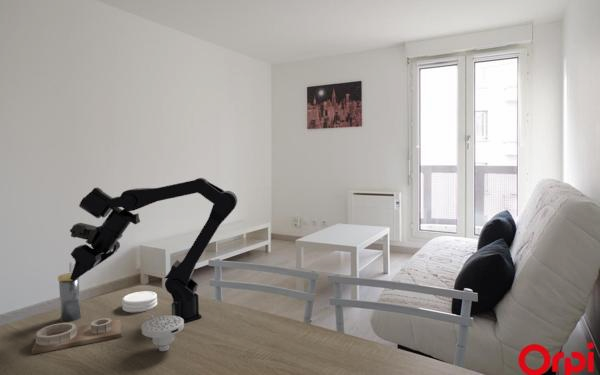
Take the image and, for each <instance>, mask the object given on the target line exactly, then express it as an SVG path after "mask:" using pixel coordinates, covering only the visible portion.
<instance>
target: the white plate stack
mask: <svg viewBox="0 0 600 375" xmlns="http://www.w3.org/2000/svg"><path fill="white" fill-rule="evenodd" d="M121 302H122V304H121V306H122V310H123V311H124V312H125V313H142V312H146V311H150V310H153V309H154V308H156V306H158V294H157V293H156V292H154V291H150V290H143V291H136V292H133V293H132V292H131V293H129V294H126V295H125V296H123V298H122V299H121Z"/></svg>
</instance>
